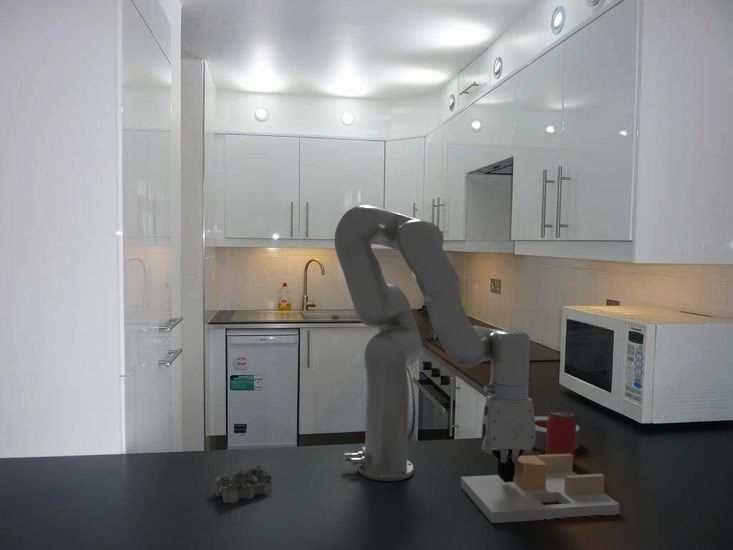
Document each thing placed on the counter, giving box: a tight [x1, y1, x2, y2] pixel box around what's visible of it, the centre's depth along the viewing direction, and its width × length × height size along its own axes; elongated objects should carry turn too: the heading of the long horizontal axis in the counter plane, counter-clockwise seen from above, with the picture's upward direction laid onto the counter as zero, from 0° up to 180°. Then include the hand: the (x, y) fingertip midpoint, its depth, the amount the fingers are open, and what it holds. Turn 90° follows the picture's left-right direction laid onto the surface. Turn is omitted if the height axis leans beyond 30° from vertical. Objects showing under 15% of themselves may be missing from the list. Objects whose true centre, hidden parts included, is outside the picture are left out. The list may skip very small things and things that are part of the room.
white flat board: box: [460, 454, 620, 524], centre depth 109 cm, size 26×17×6 cm, turn 101°
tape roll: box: [533, 416, 581, 452], centre depth 144 cm, size 15×15×5 cm
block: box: [513, 455, 547, 490], centre depth 111 cm, size 5×5×5 cm
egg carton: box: [213, 464, 275, 504], centre depth 108 cm, size 11×8×4 cm
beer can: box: [545, 409, 577, 465], centre depth 129 cm, size 7×7×12 cm
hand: (505, 479), depth 110 cm, fingers closed
